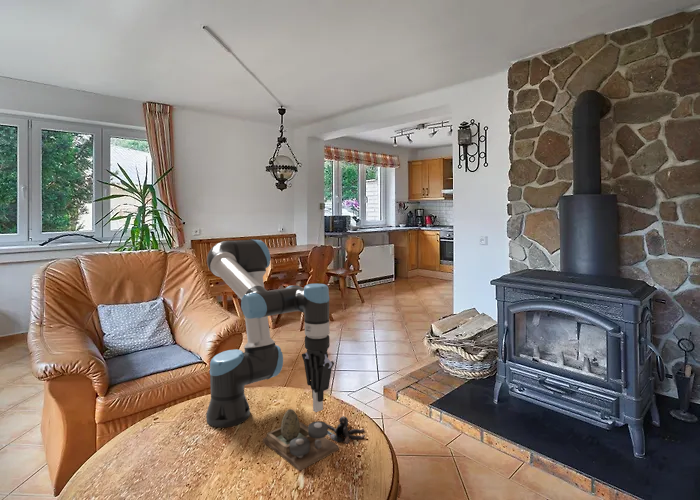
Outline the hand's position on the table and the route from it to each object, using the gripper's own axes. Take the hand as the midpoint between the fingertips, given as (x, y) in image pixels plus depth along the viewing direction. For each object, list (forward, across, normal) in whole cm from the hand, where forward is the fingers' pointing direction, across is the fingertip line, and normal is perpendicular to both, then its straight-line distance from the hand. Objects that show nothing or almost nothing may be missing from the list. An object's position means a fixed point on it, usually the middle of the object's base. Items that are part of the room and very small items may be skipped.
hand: (318, 410), depth 122 cm
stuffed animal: (+14, -2, +12) cm, 19 cm away
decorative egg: (+12, -9, -4) cm, 16 cm away
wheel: (+8, 0, 0) cm, 8 cm away
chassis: (+13, -6, -2) cm, 15 cm away
